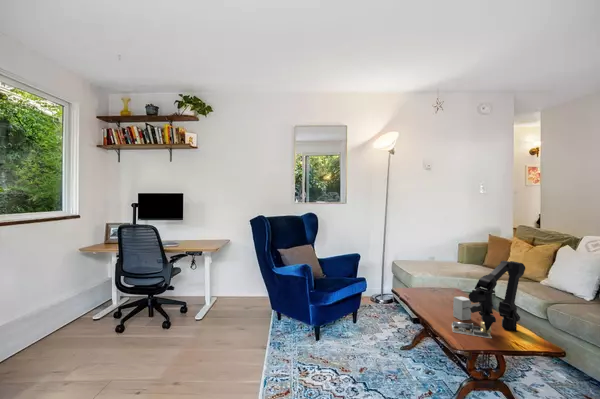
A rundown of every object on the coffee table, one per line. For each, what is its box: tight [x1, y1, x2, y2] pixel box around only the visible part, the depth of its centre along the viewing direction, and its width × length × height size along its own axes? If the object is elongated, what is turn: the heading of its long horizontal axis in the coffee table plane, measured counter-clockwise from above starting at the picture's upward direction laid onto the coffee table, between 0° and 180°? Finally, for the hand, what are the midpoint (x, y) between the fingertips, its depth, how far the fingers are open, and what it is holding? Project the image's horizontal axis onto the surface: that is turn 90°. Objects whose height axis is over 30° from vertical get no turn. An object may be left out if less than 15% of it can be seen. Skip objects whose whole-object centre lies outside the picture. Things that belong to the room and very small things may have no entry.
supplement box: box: [452, 296, 472, 321], centre depth 193 cm, size 7×7×13 cm
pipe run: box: [451, 320, 493, 339], centre depth 173 cm, size 19×12×4 cm, turn 67°
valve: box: [480, 320, 492, 334], centre depth 170 cm, size 5×5×6 cm
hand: (485, 328), depth 171 cm, fingers closed on valve, 5 cm apart
